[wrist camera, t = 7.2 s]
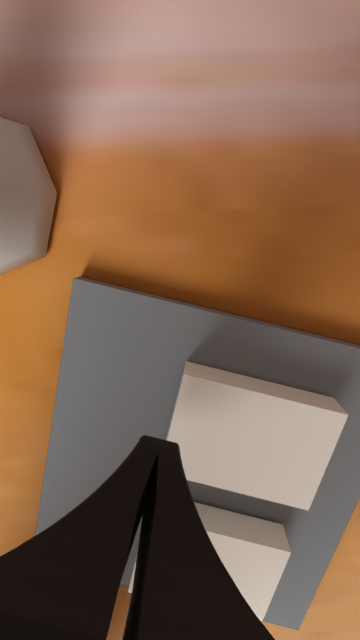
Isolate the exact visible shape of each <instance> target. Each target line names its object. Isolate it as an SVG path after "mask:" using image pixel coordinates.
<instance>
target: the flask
mask: <svg viewBox="0 0 360 640" xmlns="http://www.w3.org/2000/svg"><path fill="white" fill-rule="evenodd" d="M56 197H57V192H56V189H55V187H54V184H53V182H52V180H51V177H50V175H49V173H48V170H47V168H46V165H45V163H44V161H43V158H42V156H41V153H40V151H39V149H38V146H37V144H36V142H35V139H34V137H33V134H32V132H31V130H30V127H29V126H28V125H24V124H21V123H18V122H15V121H12V120H9V119H5V118H2V117H0V274H2V273H5V272H7V271H10V270H12V269H15V268H17V267H20V266H23V265H25V264H28V263H30V262H33V261H35V260H38V259H40V258H43V257H45V256H46V251H47V245H48V240H49V235H50V229H51V224H52V219H53V213H54V208H55V203H56Z"/></svg>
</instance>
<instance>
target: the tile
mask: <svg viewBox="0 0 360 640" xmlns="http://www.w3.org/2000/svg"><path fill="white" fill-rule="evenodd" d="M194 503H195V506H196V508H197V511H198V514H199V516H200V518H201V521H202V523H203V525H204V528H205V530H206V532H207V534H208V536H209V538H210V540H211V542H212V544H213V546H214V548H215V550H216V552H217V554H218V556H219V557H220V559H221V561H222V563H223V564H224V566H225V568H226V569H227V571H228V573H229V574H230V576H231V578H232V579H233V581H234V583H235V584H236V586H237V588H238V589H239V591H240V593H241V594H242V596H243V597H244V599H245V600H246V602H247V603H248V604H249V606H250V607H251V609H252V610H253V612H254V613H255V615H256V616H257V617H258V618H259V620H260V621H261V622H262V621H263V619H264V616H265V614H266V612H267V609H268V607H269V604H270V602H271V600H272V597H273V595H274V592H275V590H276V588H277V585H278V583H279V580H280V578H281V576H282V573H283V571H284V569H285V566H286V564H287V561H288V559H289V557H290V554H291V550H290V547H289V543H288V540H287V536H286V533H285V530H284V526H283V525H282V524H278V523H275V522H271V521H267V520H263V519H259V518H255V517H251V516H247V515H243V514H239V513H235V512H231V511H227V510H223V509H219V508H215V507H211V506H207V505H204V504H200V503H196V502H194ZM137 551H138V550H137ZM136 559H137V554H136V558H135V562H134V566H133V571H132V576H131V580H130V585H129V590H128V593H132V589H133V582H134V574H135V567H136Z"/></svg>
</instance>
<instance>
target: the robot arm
mask: <svg viewBox="0 0 360 640" xmlns="http://www.w3.org/2000/svg"><path fill="white" fill-rule="evenodd" d="M141 517H142V522H141V529H140V536H139V544H138V551H137V559H136V567H135V574H134V582H133V589H132V595H131V601H130V606H129V611H128V616H127V621H126V626H125V630H124V635H123V640H275V639H274V638H273V637H272V635H271V634H270V633H269V631H268V630H267V629H266V628H265V626H264V625H263V624H262V622H261V621H260V620H259V618H258V617H257V616H256V615H255V613H254V612H253V610H252V609H251V607H250V606H249V604H248V603H247V602H246V600H245V599H244V597H243V596H242V594H241V593H240V591H239V589H238V588H237V586H236V584H235V583H234V581H233V579H232V578H231V576H230V574H229V573H228V571H227V569H226V568H225V566H224V564H223V563H222V561H221V559H220V557H219V556H218V554H217V552H216V550H215V548H214V546H213V544H212V542H211V540H210V538H209V536H208V534H207V532H206V530H205V528H204V525H203V523H202V521H201V518H200V516H199V514H198V511H197V508H196V506H195V503H194V501H193V498H192V495H191V492H190V489H189V486H188V483H187V479H186V476H185V472H184V469H183V465H182V460H181V455H180V448H179V445H178V443H175V442H171V441H167V440H163V439H159V438H155V437H151V436H147V435H143V436H141V437H140V439H139V441H138V443H137V444H136V446H135V447H134V449H133V450H132V451H131V453H130V454H129V455H128V457H127V458H126V459H125V460H124V461H123V462H122V464H121V465H120V466H119V467H118V468H117V469H116V470H115V472H114V473H113V474H112V475H111V476H110V477H109V478H108V479H107V480H106V481H105V482H104V483H103V484H102V485H101V486H100V487H99V488H98V489H96V490H95V491H94V492H93V493H92V494H91V495H90V496H89V497H88V498H86V499H85V500H84V501H83V502H82V503H80V504H79V505H78V506H77V507H75V508H74V509H73V510H72V511H70V512H69V513H68V514H66V515H65V516H64V517H62V518H61V519H60V520H58V521H57V522H55V523H54V524H53V525H51V526H50V527H48V528H47V529H45V530H44V531H42V532H40V533H39V534H37V535H36V536H34V537H33V538H31V539H29V540H28V541H26V542H25V543H23V544H21V545H20V546H18V547H17V548H15V549H13V550H11V551H10V552H8V553H6V554H4V555H2V556H0V640H106V638H107V634H108V630H109V625H110V621H111V617H112V613H113V609H114V605H115V601H116V597H117V593H118V589H119V586H120V583H121V579H122V576H123V573H124V570H125V567H126V564H127V561H128V558H129V555H130V552H131V549H132V545H133V542H134V539H135V536H136V533H137V530H138V527H139V524H140V521H141Z"/></svg>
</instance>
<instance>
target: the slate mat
mask: <svg viewBox="0 0 360 640" xmlns="http://www.w3.org/2000/svg"><path fill="white" fill-rule="evenodd" d="M186 361H188V362H192V363H196V364H200V365H204V366H208V367H212V368H216V369H220V370H224V371H228V372H232V373H236V374H240V375H244V376H248V377H252V378H256V379H260V380H264V381H268V382H272V383H276V384H281V385H285V386H289V387H293V388H297V389H301V390H305V391H309V392H313V393H317V394H321V395H325V396H329V397H333V398H334V399H335V400H336V401H337V402H338V403H339V405H340V406H341V407H342V408H343V409H344V410H345V412H346V413H347V414H348V417H347V420H346V422H345V425H344V427H343V429H342V432H341V434H340V437H339V439H338V441H337V444H336V446H335V449H334V451H333V453H332V456H331V458H330V460H329V463H328V465H327V468H326V470H325V472H324V475H323V477H322V480H321V482H320V484H319V487H318V489H317V492H316V494H315V496H314V499H313V501H312V503H311V506H310V508H309V511H308V510H304V509H300V508H296V507H292V506H288V505H284V504H280V503H276V502H272V501H268V500H264V499H260V498H256V497H252V496H248V495H244V494H240V493H236V492H232V491H228V490H225V489H221V488H217V487H213V486H209V485H205V484H201V483H197V482H193V481H189V480H187V483H188V486H189V489H190V492H191V495H192V498H193V501H194V502H196V503H200V504H204V505H207V506H211V507H215V508H219V509H223V510H227V511H231V512H235V513H239V514H243V515H247V516H251V517H255V518H259V519H263V520H267V521H271V522H275V523H278V524H282V525H283V526H284V530H285V533H286V536H287V540H288V543H289V547H290V550H291V554H290V557H289V559H288V561H287V564H286V566H285V569H284V571H283V573H282V576H281V578H280V580H279V583H278V585H277V588H276V590H275V592H274V595H273V597H272V600H271V602H270V604H269V607H268V609H267V612H266V614H265V616H264V619H263V621H265V622H268V623H272V624H276V625H280V626H284V627H288V628H292V629H296V630H298V629H299V627H300V625H301V623H302V621H303V619H304V616H305V614H306V612H307V610H308V608H309V606H310V603H311V601H312V599H313V597H314V595H315V593H316V591H317V588H318V586H319V584H320V582H321V580H322V578H323V575H324V573H325V571H326V569H327V567H328V565H329V562H330V560H331V558H332V556H333V554H334V552H335V550H336V547H337V545H338V543H339V541H340V539H341V537H342V534H343V532H344V530H345V528H346V526H347V524H348V521H349V519H350V517H351V515H352V513H353V511H354V509H355V506H356V504H357V502H358V500H359V498H360V345H357V344H353V343H349V342H345V341H341V340H337V339H333V338H329V337H325V336H321V335H317V334H312V333H308V332H304V331H300V330H296V329H292V328H288V327H284V326H280V325H276V324H272V323H268V322H264V321H259V320H255V319H251V318H247V317H243V316H239V315H235V314H231V313H227V312H223V311H219V310H215V309H211V308H207V307H202V306H198V305H194V304H190V303H186V302H182V301H178V300H174V299H170V298H166V297H162V296H158V295H154V294H149V293H145V292H141V291H137V290H133V289H129V288H125V287H121V286H117V285H113V284H109V283H105V282H101V281H96V280H92V279H88V278H84V277H76V278H73V284H72V291H71V298H70V305H69V311H68V318H67V325H66V332H65V338H64V345H63V352H62V359H61V365H60V372H59V379H58V386H57V392H56V399H55V406H54V413H53V420H52V426H51V433H50V440H49V447H48V453H47V460H46V467H45V474H44V480H43V487H42V494H41V501H40V507H39V514H38V521H37V528H36V535H37V534H39V533H40V532H42V531H44V530H45V529H47V528H48V527H50V526H51V525H53V524H54V523H55V522H57V521H58V520H60V519H61V518H62V517H64V516H65V515H66V514H68V513H69V512H70V511H72V510H73V509H74V508H75V507H77V506H78V505H79V504H80V503H82V502H83V501H84V500H85V499H86V498H88V497H89V496H90V495H91V494H92V493H93V492H94V491H95V490H96V489H98V488H99V487H100V486H101V485H102V484H103V483H104V482H105V481H106V480H107V479H108V478H109V477H110V476H111V475H112V474H113V473H114V472H115V470H116V469H117V468H118V467H119V466H120V465H121V464H122V462H123V461H124V460H125V459H126V458H127V457H128V455H129V454H130V453H131V451H132V450H133V449H134V447H135V446H136V444H137V443H138V441H139V439H140V437H141V436H143V435H147V436H151V437H155V438H159V439H163V440H166V437H167V433H168V429H169V425H170V421H171V417H172V413H173V409H174V405H175V401H176V398H177V394H178V390H179V386H180V382H181V378H182V374H183V370H184V366H185V363H186ZM141 522H142V517H141V521H140V524H139V527H138V530H137V533H136V536H135V539H134V542H133V545H132V549H131V552H130V555H129V558H128V561H127V564H126V567H125V570H124V573H123V576H122V579H121V583H120V584H121V585H125V586H129V585H130V580H131V576H132V571H133V566H134V562H135V558H136V554H137V550H138V544H139V536H140V529H141ZM36 535H35V536H36Z"/></svg>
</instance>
